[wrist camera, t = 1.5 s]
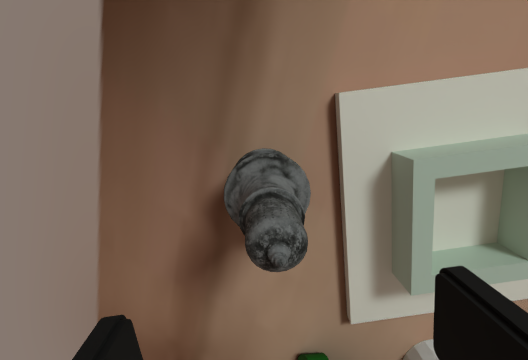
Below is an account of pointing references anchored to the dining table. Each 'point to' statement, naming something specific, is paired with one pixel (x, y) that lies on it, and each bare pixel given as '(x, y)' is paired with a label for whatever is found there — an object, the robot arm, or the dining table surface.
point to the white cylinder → (422, 351)
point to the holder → (432, 189)
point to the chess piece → (269, 208)
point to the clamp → (313, 356)
